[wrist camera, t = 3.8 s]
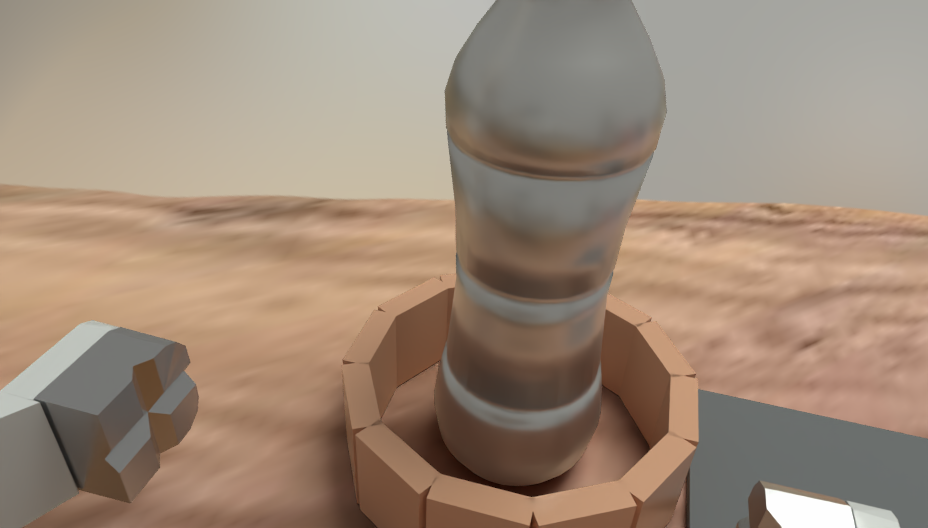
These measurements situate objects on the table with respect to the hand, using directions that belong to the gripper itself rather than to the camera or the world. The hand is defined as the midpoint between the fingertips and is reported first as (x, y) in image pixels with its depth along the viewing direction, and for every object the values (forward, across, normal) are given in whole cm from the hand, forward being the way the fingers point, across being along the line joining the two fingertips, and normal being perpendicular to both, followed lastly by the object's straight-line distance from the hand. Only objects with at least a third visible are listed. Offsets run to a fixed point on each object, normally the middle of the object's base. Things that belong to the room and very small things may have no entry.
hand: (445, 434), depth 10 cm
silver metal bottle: (+13, -1, -15) cm, 20 cm away
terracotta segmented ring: (+13, -1, -14) cm, 19 cm away
